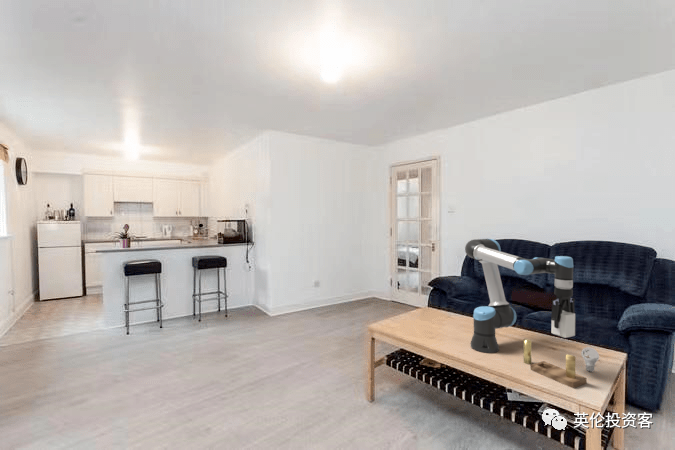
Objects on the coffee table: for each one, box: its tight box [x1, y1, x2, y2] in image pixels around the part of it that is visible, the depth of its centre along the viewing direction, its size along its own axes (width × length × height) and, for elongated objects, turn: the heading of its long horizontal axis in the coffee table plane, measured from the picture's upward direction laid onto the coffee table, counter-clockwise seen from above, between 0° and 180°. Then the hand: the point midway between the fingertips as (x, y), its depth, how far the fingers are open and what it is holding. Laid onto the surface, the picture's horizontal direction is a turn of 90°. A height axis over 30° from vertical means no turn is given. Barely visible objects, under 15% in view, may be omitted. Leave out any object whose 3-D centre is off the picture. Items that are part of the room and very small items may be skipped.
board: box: [530, 354, 588, 389], centre depth 157 cm, size 20×10×12 cm, turn 24°
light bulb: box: [581, 346, 600, 373], centre depth 161 cm, size 7×7×12 cm
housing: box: [550, 310, 576, 339], centre depth 163 cm, size 7×7×11 cm
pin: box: [522, 338, 532, 365], centre depth 172 cm, size 4×4×12 cm
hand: (562, 333), depth 163 cm, fingers closed on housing, 7 cm apart
